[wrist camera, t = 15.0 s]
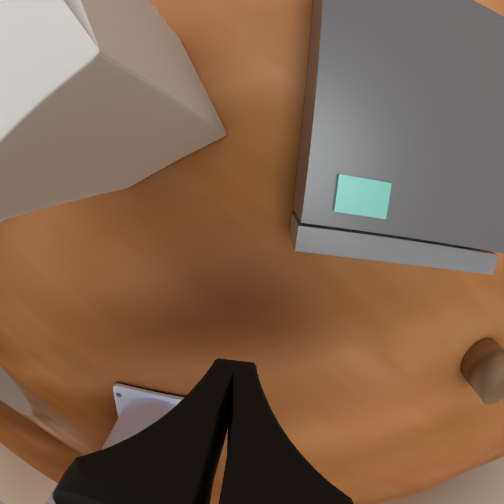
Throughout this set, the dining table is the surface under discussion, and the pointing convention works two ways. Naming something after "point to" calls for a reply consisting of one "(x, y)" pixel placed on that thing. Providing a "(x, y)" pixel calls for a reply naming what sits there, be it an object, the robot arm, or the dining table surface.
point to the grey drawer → (388, 248)
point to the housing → (405, 121)
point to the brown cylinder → (485, 370)
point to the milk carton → (92, 100)
